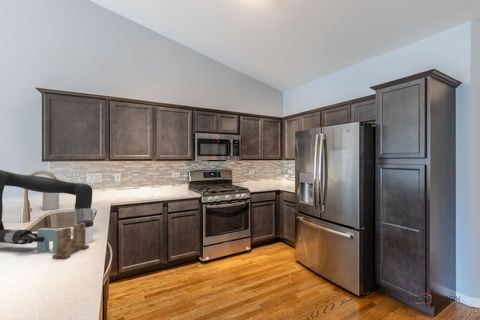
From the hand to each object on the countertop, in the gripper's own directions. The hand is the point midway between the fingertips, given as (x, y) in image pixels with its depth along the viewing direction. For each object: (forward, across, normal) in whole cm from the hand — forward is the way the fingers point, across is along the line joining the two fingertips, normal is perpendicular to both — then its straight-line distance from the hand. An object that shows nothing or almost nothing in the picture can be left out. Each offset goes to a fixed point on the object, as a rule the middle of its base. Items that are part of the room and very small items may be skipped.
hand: (47, 238), depth 129 cm
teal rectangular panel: (+2, 0, +7) cm, 7 cm away
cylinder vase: (-92, +97, +7) cm, 134 cm away
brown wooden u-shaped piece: (+14, 0, +7) cm, 16 cm away
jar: (+8, +17, +7) cm, 20 cm away
